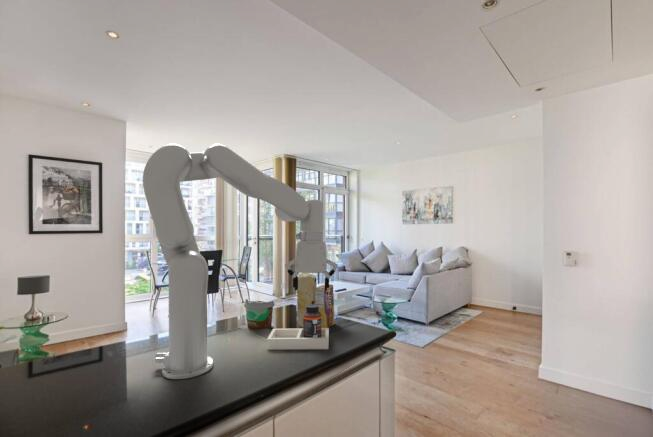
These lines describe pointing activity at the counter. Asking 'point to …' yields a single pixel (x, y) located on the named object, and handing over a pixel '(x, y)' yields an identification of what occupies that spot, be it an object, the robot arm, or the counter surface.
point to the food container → (259, 314)
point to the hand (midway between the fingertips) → (311, 289)
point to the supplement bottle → (312, 322)
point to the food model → (305, 294)
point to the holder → (296, 339)
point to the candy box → (325, 304)
